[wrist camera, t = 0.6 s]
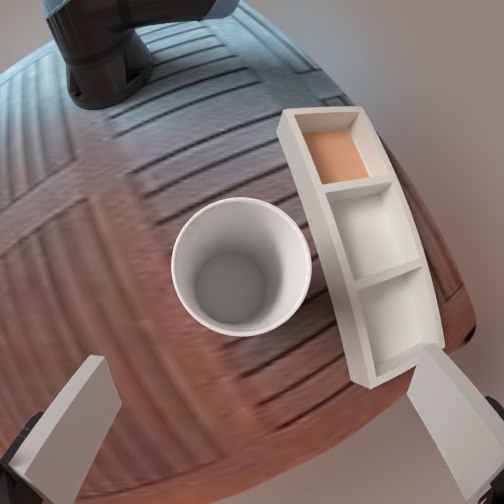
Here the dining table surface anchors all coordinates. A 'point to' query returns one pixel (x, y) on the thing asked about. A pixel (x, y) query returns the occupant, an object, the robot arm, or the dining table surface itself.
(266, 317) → the cup
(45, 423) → the robot arm
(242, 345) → the dining table surface
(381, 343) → the bay rack
